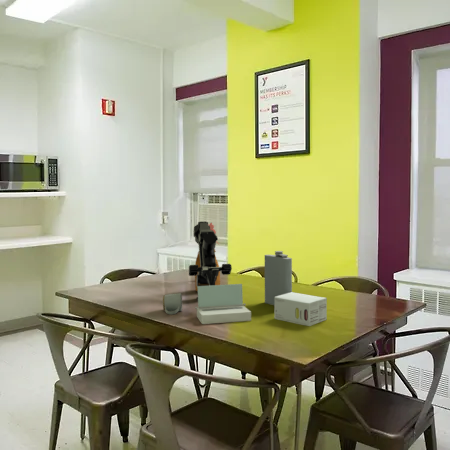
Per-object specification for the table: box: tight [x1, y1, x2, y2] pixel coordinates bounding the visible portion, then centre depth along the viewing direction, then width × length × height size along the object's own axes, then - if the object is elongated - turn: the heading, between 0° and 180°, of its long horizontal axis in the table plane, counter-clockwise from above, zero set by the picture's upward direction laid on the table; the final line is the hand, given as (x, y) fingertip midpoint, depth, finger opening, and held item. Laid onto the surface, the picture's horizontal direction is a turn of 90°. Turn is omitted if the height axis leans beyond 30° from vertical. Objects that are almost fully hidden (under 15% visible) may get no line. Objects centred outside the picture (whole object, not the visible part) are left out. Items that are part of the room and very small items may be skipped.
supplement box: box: [273, 291, 328, 327], centre depth 188 cm, size 17×13×9 cm
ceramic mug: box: [162, 292, 183, 315], centre depth 203 cm, size 11×8×8 cm
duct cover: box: [197, 283, 244, 309], centre depth 195 cm, size 19×9×1 cm
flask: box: [264, 250, 293, 306], centre depth 212 cm, size 17×5×25 cm, turn 31°
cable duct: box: [194, 303, 252, 325], centre depth 191 cm, size 21×12×4 cm, turn 104°
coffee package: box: [194, 250, 221, 292], centre depth 246 cm, size 10×12×22 cm
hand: (211, 287), depth 202 cm, fingers closed
